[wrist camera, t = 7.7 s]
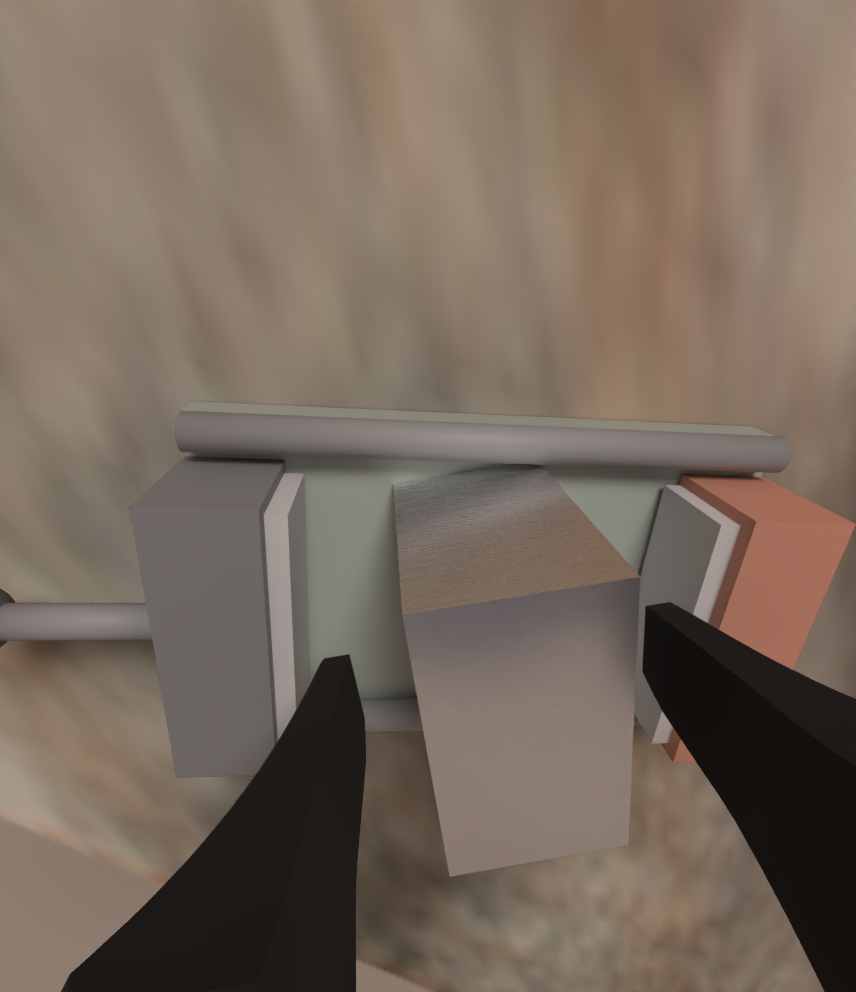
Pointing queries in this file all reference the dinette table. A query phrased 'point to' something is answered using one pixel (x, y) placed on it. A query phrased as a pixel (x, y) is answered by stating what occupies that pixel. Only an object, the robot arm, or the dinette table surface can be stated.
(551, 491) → the aluminium block
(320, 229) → the dinette table surface
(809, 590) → the block
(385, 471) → the vise base
